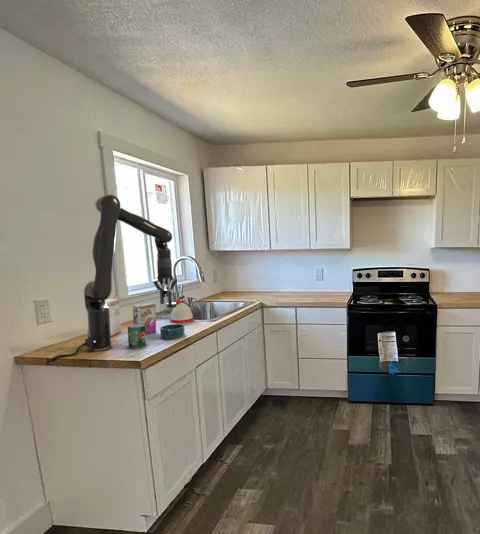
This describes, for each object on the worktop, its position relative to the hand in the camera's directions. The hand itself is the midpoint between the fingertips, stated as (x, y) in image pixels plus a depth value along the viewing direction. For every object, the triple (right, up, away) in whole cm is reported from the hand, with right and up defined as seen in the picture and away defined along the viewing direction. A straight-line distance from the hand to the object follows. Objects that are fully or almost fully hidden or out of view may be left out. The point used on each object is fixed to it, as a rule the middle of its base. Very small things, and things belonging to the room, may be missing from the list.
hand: (165, 296), depth 194 cm
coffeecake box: (-32, -22, -1) cm, 39 cm away
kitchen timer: (-3, -19, +35) cm, 40 cm away
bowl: (+5, -22, -4) cm, 23 cm away
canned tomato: (-6, -23, -22) cm, 32 cm away
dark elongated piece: (+1, -5, -1) cm, 5 cm away
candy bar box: (-13, -21, +4) cm, 25 cm away
